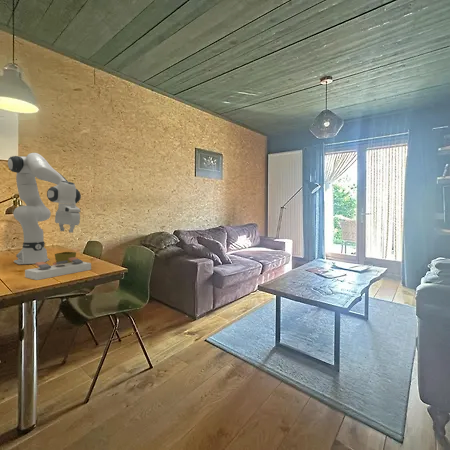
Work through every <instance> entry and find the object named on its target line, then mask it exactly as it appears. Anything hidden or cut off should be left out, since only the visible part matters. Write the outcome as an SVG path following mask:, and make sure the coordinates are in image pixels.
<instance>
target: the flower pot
mask: <svg viewBox="0 0 450 450" xmlns="http://www.w3.org/2000/svg"><path fill="white" fill-rule="evenodd" d="M76 256H77V252H76V251H63V252H57V253H54V259H55V263H56V262H60V261H66V260H67V261H68V262H67V263H72V261H70V260H69V258H72V257H76ZM76 258H77V257H76ZM63 264H65V263H63ZM58 265H59V264H58Z"/></svg>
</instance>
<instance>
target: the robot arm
mask: <svg viewBox="0 0 450 450" xmlns="http://www.w3.org/2000/svg"><path fill="white" fill-rule="evenodd" d="M7 166H8V169H9V170H10V171H11V172H13V173H16V187H17V192H18V196H19V199H20V200H21V201H23V202H24V203H25V205H20V206H17V207H15V208H14V210H13V213H12V216H13V218H14V219H15V220H16V221H17V222H19V224H20V226H21V229H22V231H23V232H22V233H23V242H22V248H21V250H20V251H19V252H18V253H16V258H17V259H14V260H13V263H14V264H17V265H35V263H37V262H45V263H47V262H48V261H50V258H48V252H47V251H48V250H47V248H45V246H46V245H45V244H46V243H45V241H44V237H45V236H44V230H43V229H42V228H41V227H40V225H39V223H40V222H45V221H47V220H49V219H50V218H51V214H52V212H51V210H50V209H49V208H48V207H47V206H46V205H45V203H44V202H43V200H42V198H41V195H40V191H39V188H38V183H37V179H38V180H41V181H45V182H48V183H52V184H54V186H50V187H49V188H48V189H47V191H46V197H47V199H48V201H50V202H51V203H58V208H57V210H56V211H55V215H54V223H55V224H58V226H59V231H60V232H65V228H64V227H65V226H64V225H66V226H67V225H69V229H68V233H70V234H73V233H74V229H75V227H76V226H79V225H80V220H81V214H80V213H81V208H79V207H78V206H77V204H78V203H79V202H80V200H81V198H82V195H81V192H80V191H79V189H77V187H76V184H75V183H74V182H73V181H68V180H67V178H65V176H64V175H62V174H61V173H60V172H58V171H57V170H56V169H55V168H53V166H52V165H50V163H49V162H48V160H47V159H46V158H44V156H43V155H41V154H40V153H38V152H30V153H28V154H27V155H26V156H21V155H20V156H19V155H12V156H10V157H9V158H8V160H7Z"/></svg>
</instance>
